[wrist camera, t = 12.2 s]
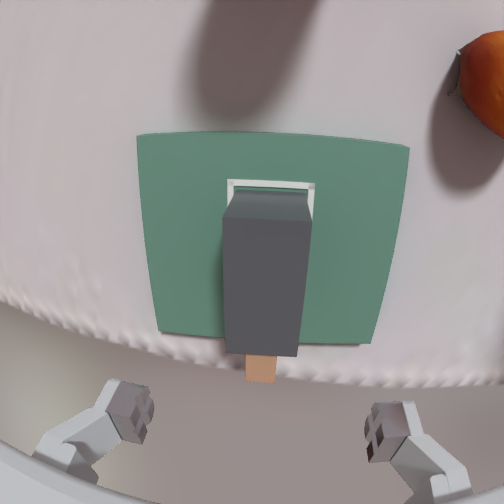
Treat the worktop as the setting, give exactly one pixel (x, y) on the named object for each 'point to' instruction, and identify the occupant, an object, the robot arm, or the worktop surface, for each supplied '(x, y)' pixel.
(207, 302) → the board
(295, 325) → the block
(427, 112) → the worktop surface
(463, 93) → the fruit
